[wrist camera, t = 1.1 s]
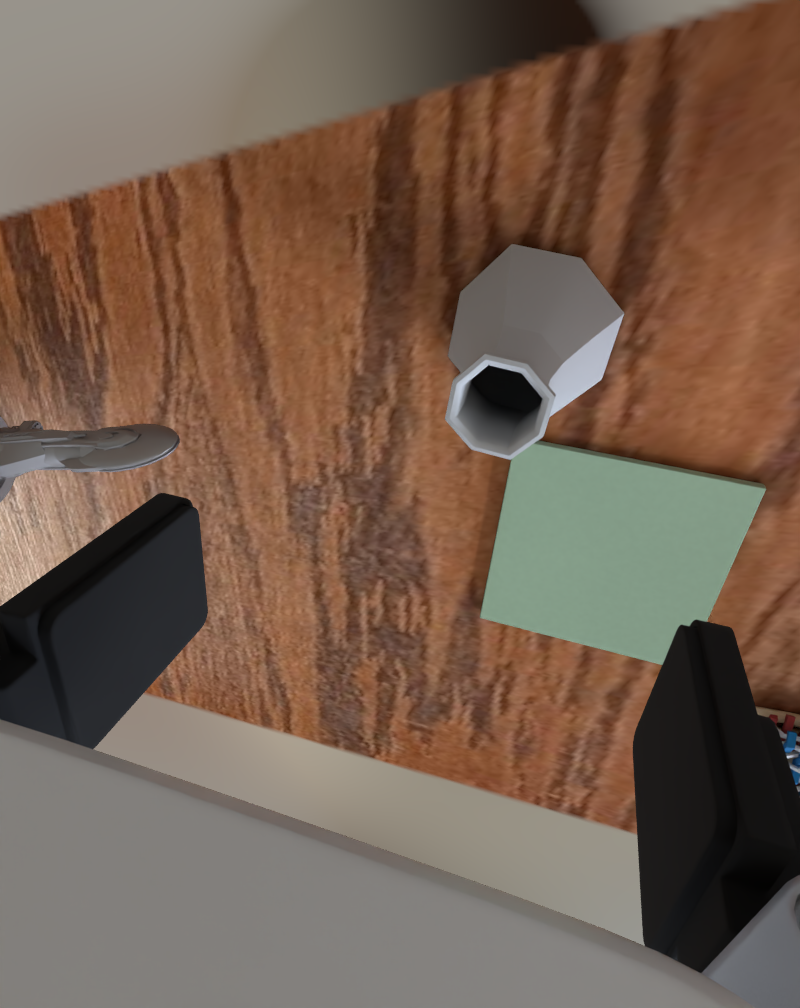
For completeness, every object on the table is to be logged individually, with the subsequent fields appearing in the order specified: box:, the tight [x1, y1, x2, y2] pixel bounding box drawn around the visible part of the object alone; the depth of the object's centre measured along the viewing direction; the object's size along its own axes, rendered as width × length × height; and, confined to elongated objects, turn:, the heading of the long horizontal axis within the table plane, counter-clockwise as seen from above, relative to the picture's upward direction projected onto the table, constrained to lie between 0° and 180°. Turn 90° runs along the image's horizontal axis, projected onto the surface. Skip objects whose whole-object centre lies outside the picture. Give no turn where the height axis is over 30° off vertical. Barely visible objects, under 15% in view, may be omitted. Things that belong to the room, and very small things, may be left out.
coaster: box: [480, 440, 766, 665], centre depth 30 cm, size 11×11×1 cm
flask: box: [445, 244, 624, 460], centre depth 22 cm, size 7×7×10 cm
